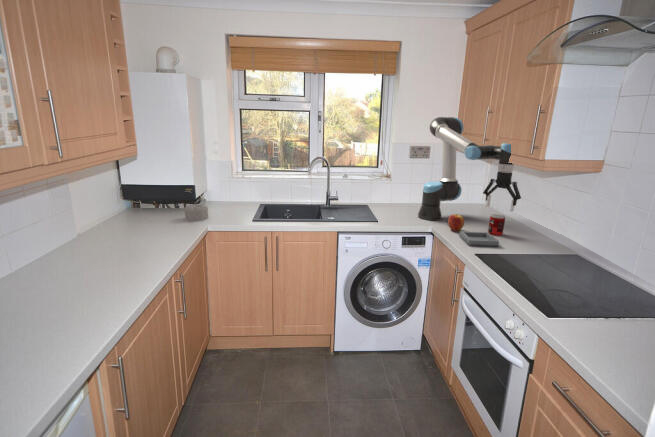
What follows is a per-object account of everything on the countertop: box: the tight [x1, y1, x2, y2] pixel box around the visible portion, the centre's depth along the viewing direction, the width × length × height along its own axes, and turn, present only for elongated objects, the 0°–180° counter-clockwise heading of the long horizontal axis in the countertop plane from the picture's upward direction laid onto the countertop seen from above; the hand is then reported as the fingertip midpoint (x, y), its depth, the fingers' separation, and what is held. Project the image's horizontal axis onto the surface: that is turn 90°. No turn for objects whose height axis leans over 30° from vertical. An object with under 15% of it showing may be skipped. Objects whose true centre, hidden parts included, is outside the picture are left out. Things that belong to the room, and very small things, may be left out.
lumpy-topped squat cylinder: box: [184, 203, 209, 223], centre depth 229 cm, size 10×13×9 cm
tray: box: [459, 230, 500, 248], centre depth 204 cm, size 16×16×3 cm
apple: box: [447, 213, 465, 232], centre depth 221 cm, size 9×9×10 cm
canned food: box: [487, 213, 506, 237], centre depth 217 cm, size 8×8×11 cm
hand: (499, 208), depth 214 cm, fingers open, 13 cm apart
